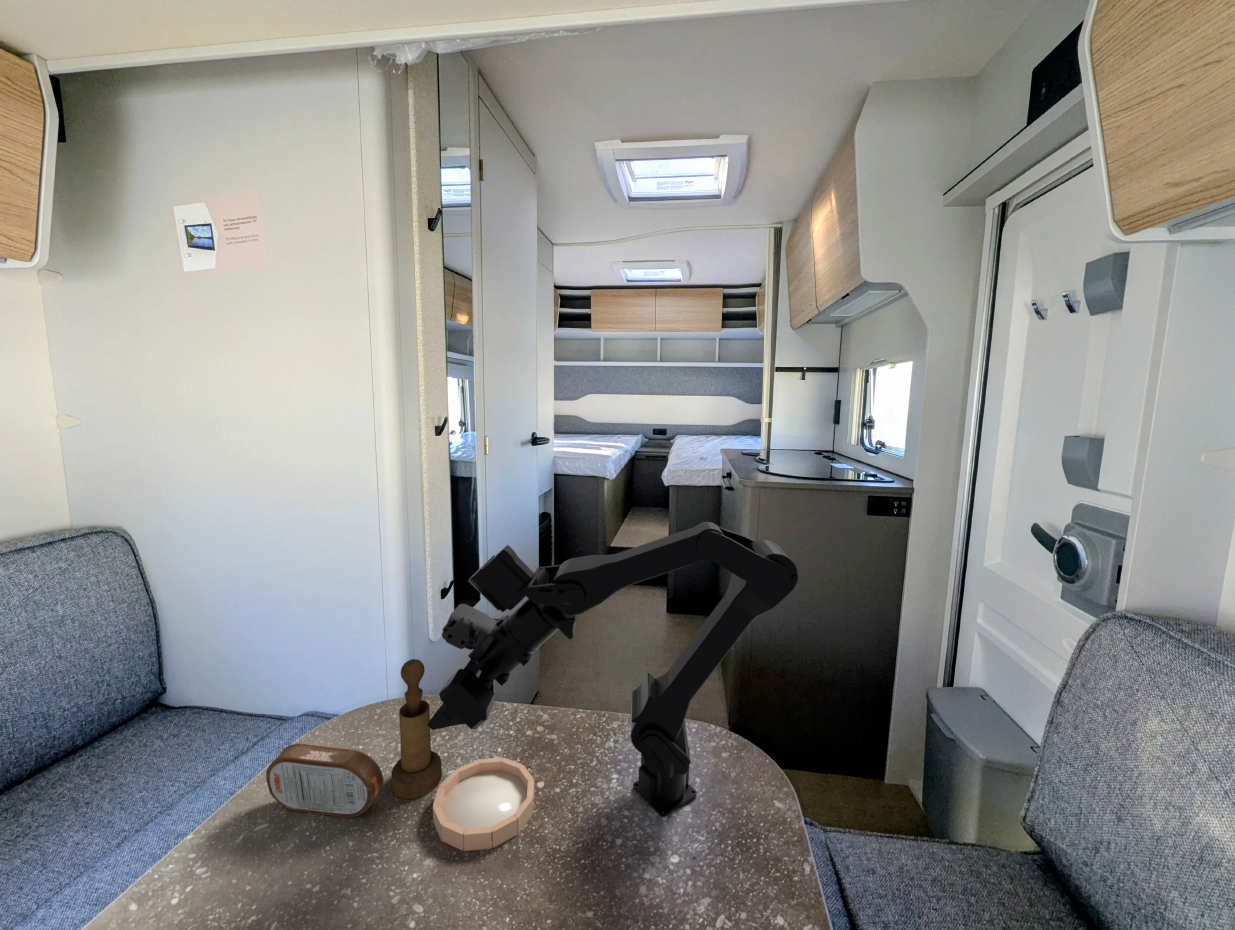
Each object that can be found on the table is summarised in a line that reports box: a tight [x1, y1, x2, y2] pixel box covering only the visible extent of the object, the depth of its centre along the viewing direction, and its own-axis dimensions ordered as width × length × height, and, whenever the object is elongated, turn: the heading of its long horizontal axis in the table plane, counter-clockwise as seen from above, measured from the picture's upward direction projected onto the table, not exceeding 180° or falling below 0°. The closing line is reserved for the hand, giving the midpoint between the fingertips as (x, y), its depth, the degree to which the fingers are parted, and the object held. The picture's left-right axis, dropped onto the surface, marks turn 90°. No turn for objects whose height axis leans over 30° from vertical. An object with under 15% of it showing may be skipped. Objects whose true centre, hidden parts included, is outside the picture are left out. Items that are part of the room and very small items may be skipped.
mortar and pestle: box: [391, 658, 443, 800], centre depth 69 cm, size 7×6×18 cm
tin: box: [265, 742, 385, 818], centre depth 65 cm, size 15×3×8 cm, turn 83°
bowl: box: [432, 757, 535, 852], centre depth 66 cm, size 13×13×2 cm
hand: (443, 704), depth 69 cm, fingers open, 9 cm apart
